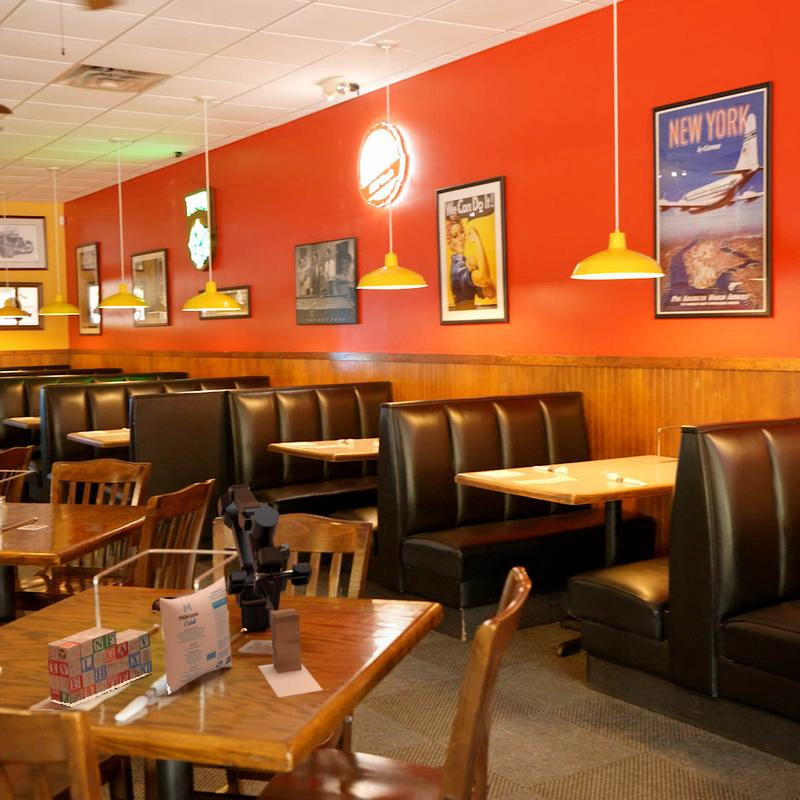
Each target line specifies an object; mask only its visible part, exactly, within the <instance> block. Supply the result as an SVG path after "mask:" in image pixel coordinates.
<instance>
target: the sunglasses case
mask: <svg viewBox="0 0 800 800" xmlns="http://www.w3.org/2000/svg"><path fill="white" fill-rule="evenodd" d="M207 587H208V586H204V587H202V588H199V590H202V589H204V588H207ZM193 591H194V590H191V591H187V592H183V593H178V594H174V595H171V596H164V597H162V598H163V599H176V598H179V597H183V596H188V595H191V594H193ZM159 599H160V598H158V599H156V600H154V601H153V603H152V605H151V611H152V610H157V611H161V609H160V600H159Z"/></svg>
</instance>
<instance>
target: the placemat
mask: <svg viewBox="0 0 800 800" xmlns="http://www.w3.org/2000/svg"><path fill="white" fill-rule="evenodd" d="M301 665H302V670H298V671H291V672H285V673H279V674H278V672H277V671H276V669H275V668H274V666H273V663H270V664H264V665H258V666H257V667H258V669H259V670H260V672H261V673H262V675H263V676H264V678H265V679H266V681H267V682H268V685H269V686H270V687H271V689H272V690H273V692H274V693H275V694H276V696H277V697H278V698H283V697H290V696H296V695H302V694H309V693H313V692H321V691H323V688H322V686H320V684H319V683H318V682H317V681H316V679H315V678H314V677H313V676H312V674H311V673H310V671H308V669H307V668H306V667H305V665H303V663H302V662H301Z"/></svg>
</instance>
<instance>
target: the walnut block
mask: <svg viewBox="0 0 800 800" xmlns="http://www.w3.org/2000/svg"><path fill="white" fill-rule="evenodd" d="M300 627H301V626H300V613H298V611H297V610H296V609H295V608H286V609H280V610H277V611H273V610H271V626H270V628H271V644H272V646H271V647H272V662H273V663H272V664H273V666H274V668H275V669H276V671H277V672H278V674H279V673H285V672H291V671H298V670H302V665H301V663H302V646H301V630H300Z"/></svg>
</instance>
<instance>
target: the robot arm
mask: <svg viewBox="0 0 800 800" xmlns="http://www.w3.org/2000/svg"><path fill="white" fill-rule="evenodd" d="M217 511H218V516H219V517H221V520H222V522H223V526H226V527H227V528H228V529H230V530H231V532H232V537H233V542H234V545H235V549H236V553H237V556H238V562H239V565H240V570H236V571H230V572H229V573H228V575H227V580H226V593H227V594H228V595H229V596H233V595H234V599H235V604H236V605H237V607H239V609H240V615H241V617H240V618H241V628H240V629H239V631H240V630H241V629H242V628H246V629H247V632H246V633H265V632H267V631H268V630H269V628H271V611H277V610H279V609H280V601H281V600H280V599H281V594H282V592H285V591H286V590H287V585H288V581H289V580H290V583H291V584H290V585H292V586H294V587H297V588H298V587H303V586H308V585H309V584H310V582H311V577H312V574H313V569H312V565H311V564H310V563H308V562H301V563H293V564H292V566H291V569H290V570H285V571H284V570H283V571H282V569H283V566H284V565H283V561H284V560H285V559H289V558H291V548H290V545H289V543H288V542H285V543H280V545H279V546H276V544H275V540H274V538H275V536H276V534H277V529H278V525H279V521H280V513H279V512H278V510H276V509H275V508H273V507H272V506H269V504H268V502H259V501H258V500H257V499H256V498H255V496H254V494H253V493H252V492H251V488H250V485H246V484H238V485H237V484H236V485H231V486H229V487H228V489H227V491H226V492H224V493H223V494H221V495H220V496H219V499H218V502H217Z"/></svg>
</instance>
